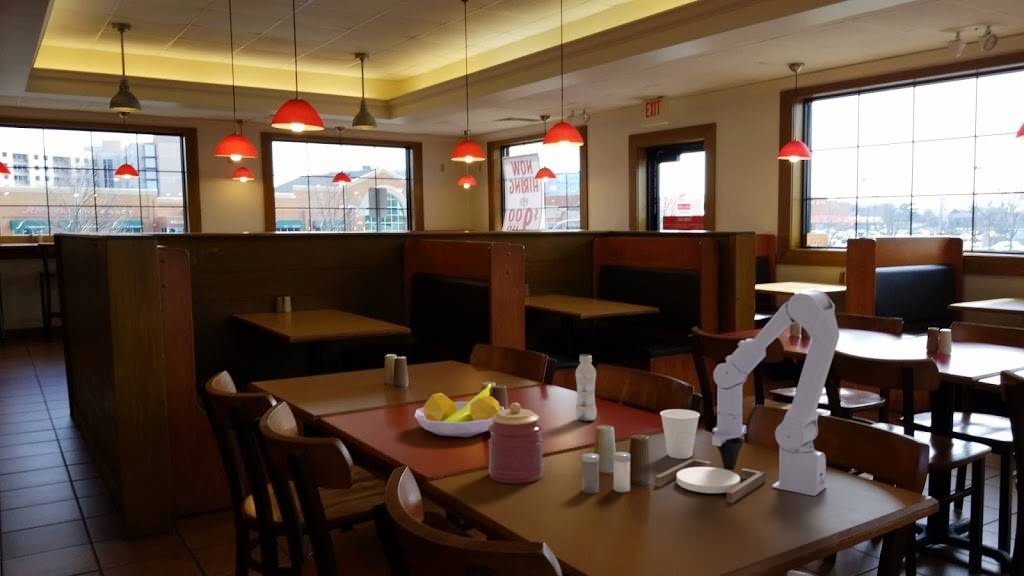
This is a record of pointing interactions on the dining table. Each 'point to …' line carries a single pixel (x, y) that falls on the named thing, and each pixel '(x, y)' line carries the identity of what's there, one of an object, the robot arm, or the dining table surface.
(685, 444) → the cup
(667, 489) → the dining table surface
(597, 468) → the pepper shaker
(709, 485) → the plastic lid
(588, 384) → the plastic bottle
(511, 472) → the canister
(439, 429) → the fruit bowl
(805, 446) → the robot arm
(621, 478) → the salt shaker
